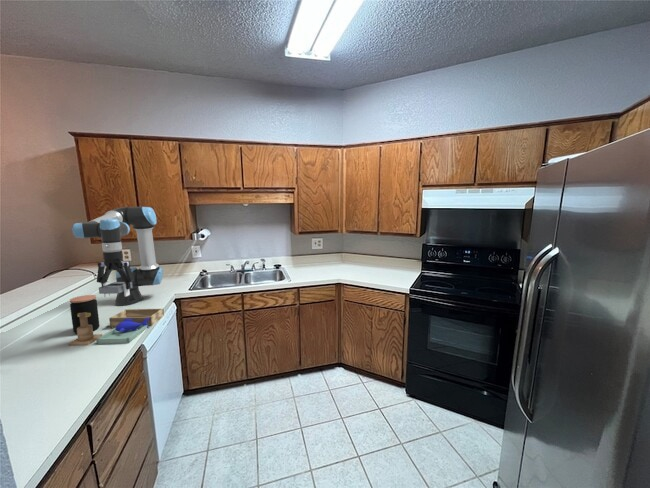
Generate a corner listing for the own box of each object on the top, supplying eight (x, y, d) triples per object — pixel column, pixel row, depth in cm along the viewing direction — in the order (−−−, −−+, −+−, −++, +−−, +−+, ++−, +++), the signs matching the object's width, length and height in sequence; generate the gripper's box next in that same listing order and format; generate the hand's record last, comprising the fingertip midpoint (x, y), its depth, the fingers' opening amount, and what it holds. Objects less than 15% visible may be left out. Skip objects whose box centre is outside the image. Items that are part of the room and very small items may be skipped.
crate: (126, 319, 161) (125, 309, 160) (164, 318, 162) (163, 308, 161) (110, 328, 148) (109, 318, 147) (151, 327, 149) (150, 317, 148)
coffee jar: (97, 324, 154) (93, 293, 152) (102, 329, 147) (98, 297, 145) (71, 331, 146) (67, 298, 143) (75, 336, 139) (71, 302, 137)
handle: (84, 336, 139) (81, 310, 137) (102, 336, 140) (99, 309, 138) (68, 345, 130) (65, 317, 129) (88, 344, 131) (84, 316, 129)
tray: (119, 329, 147) (119, 325, 147) (148, 328, 148) (148, 324, 148) (96, 344, 131) (96, 339, 131) (128, 343, 132) (128, 338, 132)
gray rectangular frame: (99, 293, 130) (98, 287, 130) (116, 286, 142) (116, 281, 141) (118, 293, 131) (118, 287, 130) (134, 286, 142) (134, 281, 142)
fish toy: (113, 335, 137) (113, 321, 138) (117, 332, 144) (116, 319, 144) (149, 329, 144) (148, 316, 145) (150, 326, 151) (150, 314, 151)
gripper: (83, 252, 129) (88, 298, 132) (130, 251, 130) (134, 297, 133) (95, 250, 136) (100, 293, 139) (140, 249, 137) (144, 293, 140)
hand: (117, 295), depth 136 cm, fingers closed on gray rectangular frame, 9 cm apart
